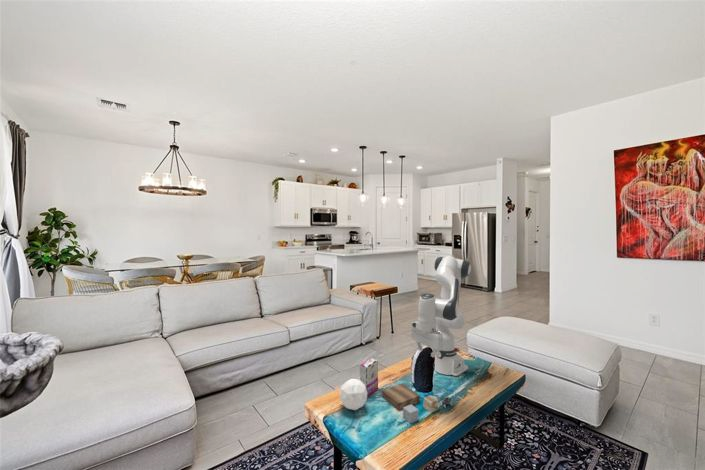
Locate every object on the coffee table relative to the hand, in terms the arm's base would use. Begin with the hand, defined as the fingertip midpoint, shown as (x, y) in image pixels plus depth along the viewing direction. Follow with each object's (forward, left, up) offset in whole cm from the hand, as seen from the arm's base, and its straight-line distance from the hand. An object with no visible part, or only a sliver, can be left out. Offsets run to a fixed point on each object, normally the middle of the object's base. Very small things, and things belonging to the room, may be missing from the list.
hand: (426, 353), depth 152 cm
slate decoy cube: (+15, +5, -26) cm, 31 cm away
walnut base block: (+9, -10, -27) cm, 30 cm away
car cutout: (-12, +6, -27) cm, 30 cm away
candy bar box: (+19, -25, -27) cm, 41 cm away
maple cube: (+1, +4, -26) cm, 27 cm away
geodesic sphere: (+34, -16, -27) cm, 46 cm away
